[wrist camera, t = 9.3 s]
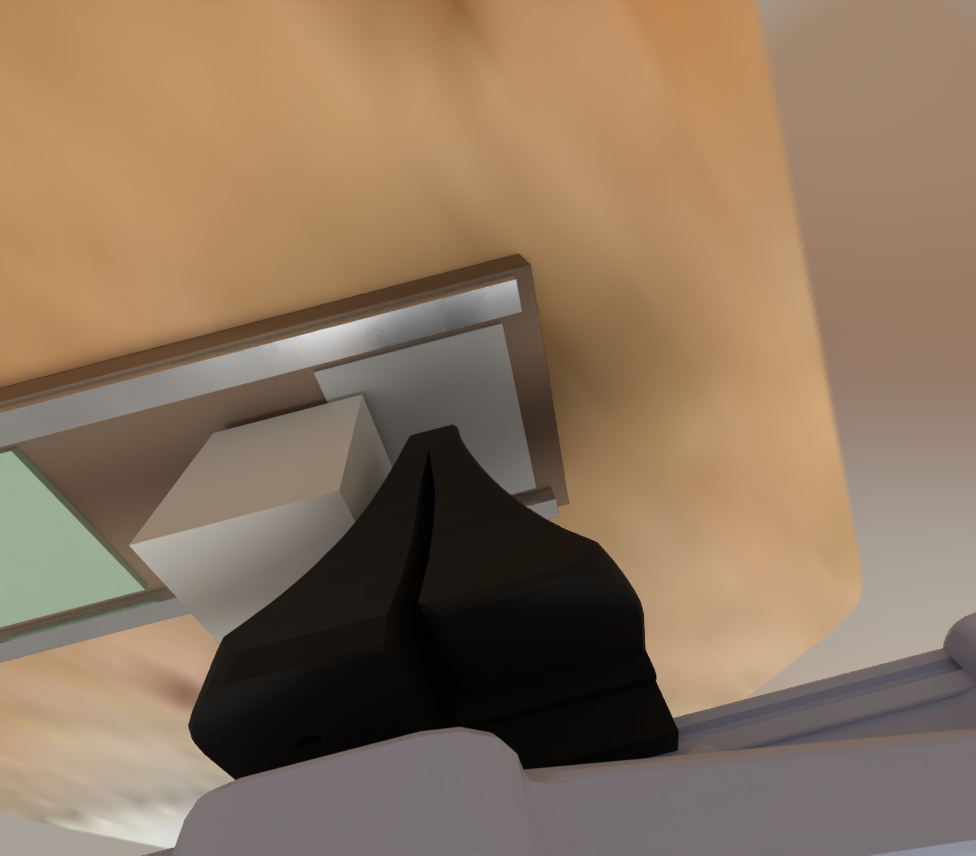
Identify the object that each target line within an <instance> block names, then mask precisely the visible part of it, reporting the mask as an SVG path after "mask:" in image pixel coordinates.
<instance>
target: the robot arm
mask: <svg viewBox="0 0 976 856" xmlns="http://www.w3.org/2000/svg"><path fill="white" fill-rule="evenodd" d="M188 727H189V730H190V734H191V738H192V740H193V741H194V743H195V744H196V745H197V746H198V747H199V749H200V750H201V751H202V752H203V753H204V754H205V755H206V756H207V757H208V758H210V759H211V760H212V761H213V762H214V763H216V764H217V765H218V766H219V767H220V768H222V769H223V770H224V771H225V772H227V773H228V774H229V775H230V776H231V777H233V778H234V779H235V781H233V782H230V783H228V784H226V785H223V786H221V787H219V788H216V789H214V790H212V791H209V792H208V793H207V794H205V795H204V796H202V797H201V798H200V799H198V800H197V802H196V803H195V805H194V806H193V808H192V809H191V811H190V812H189V814H188V815H187V817H186V818H185V820H184V823H183V826H182V829H181V831H180V834H179V837H178V840H177V843H176V846H175V847H174V848H170V849H166V850H162V851H158V852H155V853H151V854H147V855H143V856H976V612H975V613H973V614H970V615H968V616H965V617H964V618H962V619H961V620H959V621H958V622H956V623H955V624H954V625H953V626H952V627H951V629H950V630H949V632H948V633H947V635H946V638H945V641H944V645H943V648H942V649H938V650H934V651H930V652H926V653H923V654H919V655H915V656H911V657H907V658H903V659H899V660H896V661H892V662H888V663H884V664H880V665H876V666H872V667H868V668H865V669H861V670H857V671H853V672H850V673H845V674H841V675H838V676H834V677H830V678H827V679H822V680H818V681H814V682H811V683H807V684H803V685H799V686H795V687H791V688H787V689H784V690H780V691H776V692H772V693H768V694H765V695H760V696H757V697H753V698H749V699H745V700H741V701H737V702H733V703H730V704H726V705H722V706H718V707H714V708H710V709H706V710H703V711H699V712H695V713H691V714H687V715H683V716H679V717H676V718H673V717H672V715H671V713H670V711H669V709H668V706H667V704H666V702H665V700H664V698H663V696H662V693H661V691H660V689H659V687H658V685H657V682H656V673H655V669H654V667H653V665H652V663H651V661H650V658H649V656H648V654H647V652H646V650H645V628H644V613H643V609H642V605H641V602H640V599H639V598H638V596H637V594H636V592H635V590H634V589H633V587H632V586H631V584H630V582H629V581H628V580H627V578H626V577H625V575H624V574H623V572H622V571H621V570H620V568H619V567H618V566H617V565H616V563H615V562H614V561H613V559H612V558H611V557H610V556H609V555H608V554H607V552H606V551H605V550H604V549H603V548H602V547H601V546H600V545H599V543H597V542H596V541H593V540H591V539H588V538H586V537H583V536H581V535H578V534H576V533H573V532H571V531H569V530H566V529H564V528H562V527H560V526H558V525H556V524H554V523H553V522H551V521H549V520H547V519H546V518H544V517H542V516H541V515H539V514H538V513H536V512H534V511H533V510H531V509H530V508H528V507H526V506H525V505H523V504H522V503H521V502H519V501H518V500H517V499H515V498H514V497H513V496H512V495H510V494H509V493H508V492H507V491H506V490H504V489H503V488H502V487H501V486H500V485H499V484H498V483H497V482H496V481H495V480H493V479H492V478H491V476H490V475H489V474H488V473H487V472H486V471H485V470H484V469H483V468H482V467H481V466H480V465H479V463H478V462H477V461H476V459H475V458H474V457H473V456H472V454H471V453H470V452H469V450H468V449H467V447H466V446H465V444H464V442H463V441H462V439H461V437H460V433H459V430H458V427H456V426H455V425H453V424H452V425H448V426H444V427H441V428H437V429H433V430H429V431H425V432H421V433H417V434H413V435H410V437H409V438H408V440H407V442H406V443H405V445H404V447H403V449H402V451H401V453H400V454H399V456H398V458H397V460H396V462H395V464H394V465H393V467H392V469H391V471H390V472H389V474H388V476H387V477H386V479H385V481H384V482H383V484H382V486H381V487H380V489H379V490H378V492H377V493H376V495H375V496H374V498H373V499H372V501H371V502H370V504H369V505H368V506H367V508H366V509H365V510H364V512H363V513H362V514H361V516H360V517H359V518H358V519H357V521H356V522H355V523H354V524H353V525H352V526H351V528H350V529H349V530H348V531H347V532H346V534H345V535H344V536H343V537H342V538H341V539H340V540H339V541H338V542H337V543H336V544H335V545H334V546H333V547H332V548H331V549H330V550H329V551H328V552H327V553H326V554H325V555H324V556H323V557H322V558H321V559H320V560H319V561H318V562H317V563H316V564H315V565H314V566H313V567H312V568H311V569H310V570H309V571H308V572H307V573H305V574H304V575H303V576H302V577H301V578H300V579H299V580H298V581H296V582H295V583H294V584H293V585H292V586H290V587H289V588H288V589H287V590H286V591H284V592H283V593H282V594H281V595H280V596H278V597H277V598H276V599H275V600H273V601H272V602H271V603H270V604H268V605H267V606H266V607H264V608H263V609H261V610H260V611H259V612H257V613H256V614H255V615H253V616H252V617H251V618H249V619H248V620H246V621H245V622H244V623H242V624H241V625H240V626H238V627H237V628H236V629H234V630H233V631H231V632H230V633H228V634H227V635H225V636H224V637H223V639H222V641H221V643H220V645H219V648H218V650H217V652H216V655H215V657H214V659H213V662H212V664H211V667H210V669H209V672H208V674H207V676H206V679H205V681H204V684H203V686H202V689H201V691H200V694H199V696H198V699H197V701H196V704H195V706H194V708H193V711H192V714H191V718H190V721H189V725H188Z"/></svg>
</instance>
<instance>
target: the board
mask: <svg viewBox="0 0 976 856" xmlns="http://www.w3.org/2000/svg"><path fill="white" fill-rule="evenodd" d="M358 395H362V396H363V398H364V400H365V403H366V405H367V408H368V410H369V412H370V415H371V417H372V420H373V422H374V424H375V427H376V429H377V432H378V434H379V436H380V439H381V441H382V444H383V446H384V448H385V451H386V453H387V456H388V458H389V460H390V463H391V465H392V467H393V465H394V464H395V462H396V460H397V458H398V456H399V454H400V453H401V451H402V449H403V447H404V445H405V443H406V442H407V440H408V438H409V437H410V435H413V434H417V433H421V432H425V431H429V430H433V429H437V428H441V427H444V426H448V425H452V424H453V425H455V426H456V427H458V430H459V433H460V437H461V439H462V441H463V442H464V444H465V446H466V447H467V449H468V450H469V452H470V453H471V454H472V456H473V457H474V458H475V459H476V461H477V462H478V463H479V465H480V466H481V467H482V468H483V469H484V470H485V471H486V472H487V473H488V474H489V475H490V476H491V478H492V479H493V480H495V481H496V482H497V483H498V484H499V485H500V486H501V487H502V488H503V489H504V490H506V491H507V492H508V493H509V494H510V495H512V496H513V497H514V498H515V499H517V500H518V501H519V502H521V503H522V504H523V505H525V506H526V507H528V508H530V509H531V510H533V511H534V512H536V513H538V514H539V515H541V516H542V517H544V518H546V519H547V520H550V519H554V518H558V517H559V513H558V508H557V507H558V506H562V505H566V504H569V500H568V494H567V488H566V482H565V475H564V469H563V463H562V457H561V451H560V444H559V438H558V432H557V426H556V420H555V413H554V407H553V401H552V395H551V389H550V382H549V376H548V370H547V364H546V358H545V351H544V345H543V339H542V333H541V327H540V321H539V314H538V308H537V302H536V296H535V290H534V283H533V277H532V271H531V265H530V264H529V263H528V262H527V261H526V260H525V259H524V258H523V257H522V256H521V255H519V254H516V255H513V256H509V257H505V258H501V259H497V260H493V261H489V262H486V263H482V264H478V265H474V266H470V267H466V268H462V269H459V270H455V271H451V272H447V273H443V274H439V275H435V276H432V277H428V278H424V279H420V280H416V281H412V282H408V283H405V284H401V285H397V286H393V287H389V288H385V289H381V290H378V291H374V292H370V293H366V294H362V295H358V296H354V297H351V298H347V299H343V300H339V301H335V302H331V303H327V304H324V305H320V306H316V307H312V308H308V309H304V310H300V311H297V312H293V313H289V314H285V315H281V316H277V317H273V318H270V319H266V320H262V321H258V322H254V323H250V324H246V325H243V326H239V327H235V328H231V329H227V330H223V331H219V332H216V333H212V334H208V335H204V336H200V337H196V338H192V339H189V340H185V341H181V342H177V343H173V344H169V345H165V346H162V347H158V348H154V349H150V350H146V351H142V352H138V353H135V354H131V355H127V356H123V357H119V358H115V359H111V360H108V361H104V362H100V363H96V364H92V365H88V366H84V367H81V368H77V369H73V370H69V371H65V372H61V373H57V374H54V375H50V376H46V377H42V378H38V379H34V380H30V381H27V382H23V383H19V384H15V385H11V386H7V387H3V388H0V663H1V662H4V661H8V660H12V659H16V658H20V657H24V656H27V655H31V654H35V653H39V652H43V651H47V650H50V649H54V648H58V647H62V646H66V645H70V644H74V643H77V642H81V641H85V640H89V639H93V638H97V637H100V636H104V635H108V634H112V633H116V632H120V631H124V630H127V629H131V628H135V627H139V626H143V625H147V624H150V623H154V622H158V621H162V620H166V619H170V618H173V617H177V616H181V615H185V614H189V613H191V612H190V611H189V610H188V609H187V608H186V607H185V606H184V605H183V604H182V603H181V601H180V600H179V599H178V598H177V597H176V596H175V595H174V594H173V593H172V592H171V591H170V589H169V588H168V587H167V586H166V585H165V584H164V583H163V582H162V581H161V580H160V579H159V577H158V576H157V575H156V574H155V573H154V572H153V571H152V570H151V569H150V568H149V567H148V566H147V564H146V563H145V562H144V561H143V560H142V559H141V558H140V557H139V556H138V555H137V554H136V552H135V551H134V550H133V549H132V548H131V547H130V546H129V545H130V543H131V542H132V541H133V539H134V538H135V537H136V535H137V534H138V533H139V531H140V530H141V529H142V527H143V526H144V525H145V523H146V522H147V521H148V519H149V518H150V517H151V515H152V514H153V513H154V511H155V510H156V509H157V507H158V506H159V505H160V503H161V502H162V501H163V499H164V498H165V497H166V495H167V494H168V493H169V491H170V490H171V489H172V487H173V486H174V485H175V483H176V482H177V481H178V479H179V478H180V477H181V475H182V474H183V473H184V471H185V470H186V469H187V467H188V466H189V465H190V463H191V462H192V461H193V459H194V458H195V457H196V455H197V454H198V453H199V451H200V450H201V449H202V447H203V446H204V445H205V443H206V442H207V441H208V439H209V438H210V437H211V435H212V434H213V433H216V432H219V431H223V430H227V429H231V428H235V427H239V426H243V425H246V424H250V423H254V422H258V421H262V420H266V419H270V418H273V417H277V416H281V415H285V414H289V413H293V412H297V411H300V410H304V409H308V408H312V407H316V406H320V405H323V404H327V403H331V402H335V401H339V400H343V399H347V398H350V397H354V396H358Z"/></svg>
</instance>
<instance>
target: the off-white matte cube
mask: <svg viewBox="0 0 976 856" xmlns="http://www.w3.org/2000/svg"><path fill="white" fill-rule="evenodd" d="M391 469H392V465H391V463H390V460H389V458H388V456H387V453H386V451H385V448H384V446H383V444H382V441H381V439H380V436H379V434H378V432H377V429H376V427H375V424H374V422H373V420H372V417H371V415H370V412H369V410H368V408H367V405H366V403H365V400H364V398H363V396H362V395H358V396H354V397H350V398H347V399H343V400H339V401H335V402H331V403H327V404H323V405H320V406H316V407H312V408H308V409H304V410H300V411H297V412H293V413H289V414H285V415H281V416H277V417H273V418H270V419H266V420H262V421H258V422H254V423H250V424H246V425H243V426H239V427H235V428H231V429H227V430H223V431H219V432H216V433H213V434H212V435H211V437H210V438H209V439H208V441H207V442H206V443H205V445H204V446H203V447H202V449H201V450H200V451H199V453H198V454H197V455H196V457H195V458H194V459H193V461H192V462H191V463H190V465H189V466H188V467H187V469H186V470H185V471H184V473H183V474H182V475H181V477H180V478H179V479H178V481H177V482H176V483H175V485H174V486H173V487H172V489H171V490H170V491H169V493H168V494H167V495H166V497H165V498H164V499H163V501H162V502H161V503H160V505H159V506H158V507H157V509H156V510H155V511H154V513H153V514H152V515H151V517H150V518H149V519H148V521H147V522H146V523H145V525H144V526H143V527H142V529H141V530H140V531H139V533H138V534H137V535H136V537H135V538H134V539H133V541H132V542H131V543H130V545H129V546H130V547H131V548H132V549H133V550H134V551H135V552H136V554H137V555H138V556H139V557H140V558H141V559H142V560H143V561H144V562H145V563H146V564H147V566H148V567H149V568H150V569H151V570H152V571H153V572H154V573H155V574H156V575H157V576H158V577H159V579H160V580H161V581H162V582H163V583H164V584H165V585H166V586H167V587H168V588H169V589H170V591H171V592H172V593H173V594H174V595H175V596H176V597H177V598H178V599H179V600H180V601H181V603H182V604H183V605H184V606H185V607H186V608H187V609H188V610H189V611H190V612H191V613H192V614H193V616H194V617H195V618H196V619H197V620H198V621H199V622H200V623H201V624H202V625H203V626H204V628H205V629H206V630H207V631H208V632H209V633H210V634H211V635H212V636H213V637H214V638H215V640H216V641H217V642H218V643H219V644H220V643H221V641H222V639H223V637H224V636H225V635H227V634H228V633H230V632H231V631H233V630H234V629H236V628H237V627H238V626H240V625H241V624H242V623H244V622H245V621H246V620H248V619H249V618H251V617H252V616H253V615H255V614H256V613H257V612H259V611H260V610H261V609H263V608H264V607H266V606H267V605H268V604H270V603H271V602H272V601H273V600H275V599H276V598H277V597H278V596H280V595H281V594H282V593H283V592H284V591H286V590H287V589H288V588H289V587H290V586H292V585H293V584H294V583H295V582H296V581H298V580H299V579H300V578H301V577H302V576H303V575H304V574H305V573H307V572H308V571H309V570H310V569H311V568H312V567H313V566H314V565H315V564H316V563H317V562H318V561H319V560H320V559H321V558H322V557H323V556H324V555H325V554H326V553H327V552H328V551H329V550H330V549H331V548H332V547H333V546H334V545H335V544H336V543H337V542H338V541H339V540H340V539H341V538H342V537H343V536H344V535H345V534H346V532H347V531H348V530H349V529H350V528H351V526H352V525H353V524H354V523H355V522H356V521H357V519H358V518H359V517H360V516H361V514H362V513H363V512H364V510H365V509H366V508H367V506H368V505H369V504H370V502H371V501H372V499H373V498H374V496H375V495H376V493H377V492H378V490H379V489H380V487H381V486H382V484H383V482H384V481H385V479H386V477H387V476H388V474H389V472H390V471H391Z"/></svg>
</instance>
